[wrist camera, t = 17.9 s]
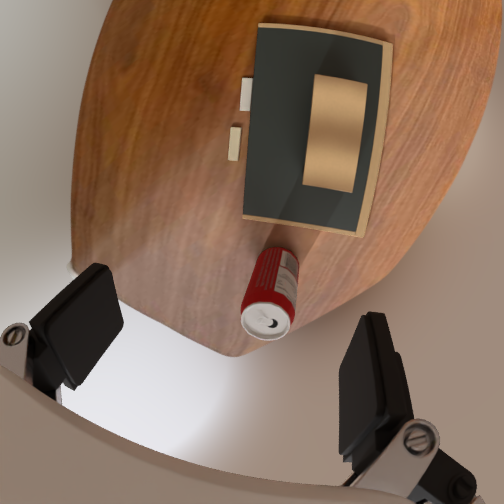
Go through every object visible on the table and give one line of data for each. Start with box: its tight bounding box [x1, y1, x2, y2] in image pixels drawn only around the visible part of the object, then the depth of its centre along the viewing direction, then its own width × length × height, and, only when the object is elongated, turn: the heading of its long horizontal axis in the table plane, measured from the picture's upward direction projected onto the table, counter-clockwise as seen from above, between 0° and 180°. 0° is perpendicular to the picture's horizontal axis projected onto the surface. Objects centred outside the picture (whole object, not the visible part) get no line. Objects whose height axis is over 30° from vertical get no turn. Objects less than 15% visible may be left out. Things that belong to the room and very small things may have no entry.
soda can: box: [241, 247, 299, 340], centre depth 32 cm, size 6×6×12 cm
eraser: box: [302, 74, 368, 193], centre depth 25 cm, size 11×5×4 cm, turn 177°
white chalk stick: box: [240, 78, 253, 111], centre depth 28 cm, size 4×1×1 cm, turn 177°
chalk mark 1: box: [228, 127, 242, 161], centre depth 31 cm, size 4×1×1 cm, turn 176°
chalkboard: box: [243, 23, 393, 238], centre depth 28 cm, size 24×15×1 cm, turn 177°
